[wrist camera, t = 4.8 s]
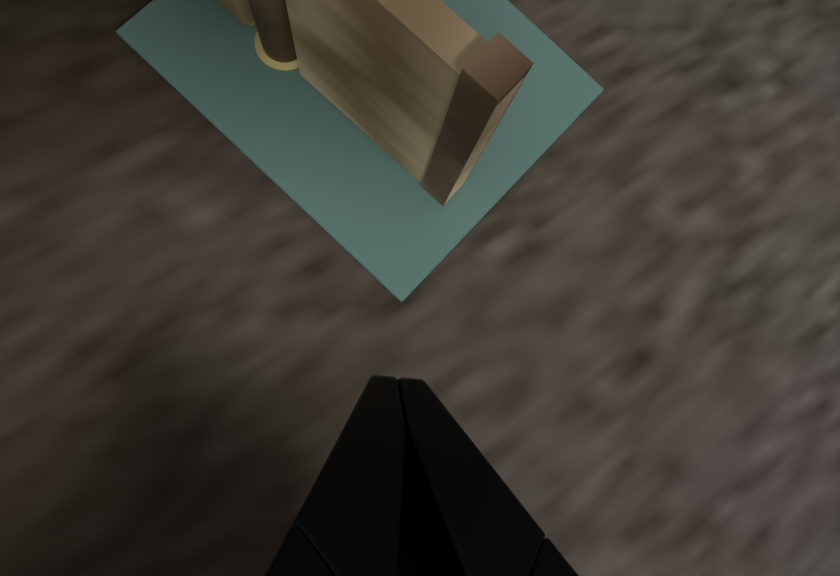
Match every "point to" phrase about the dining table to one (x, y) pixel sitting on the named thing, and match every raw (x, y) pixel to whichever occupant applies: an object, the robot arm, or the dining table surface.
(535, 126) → the card
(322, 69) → the fence panel
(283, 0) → the fence post and fixed rail
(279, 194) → the dining table surface
